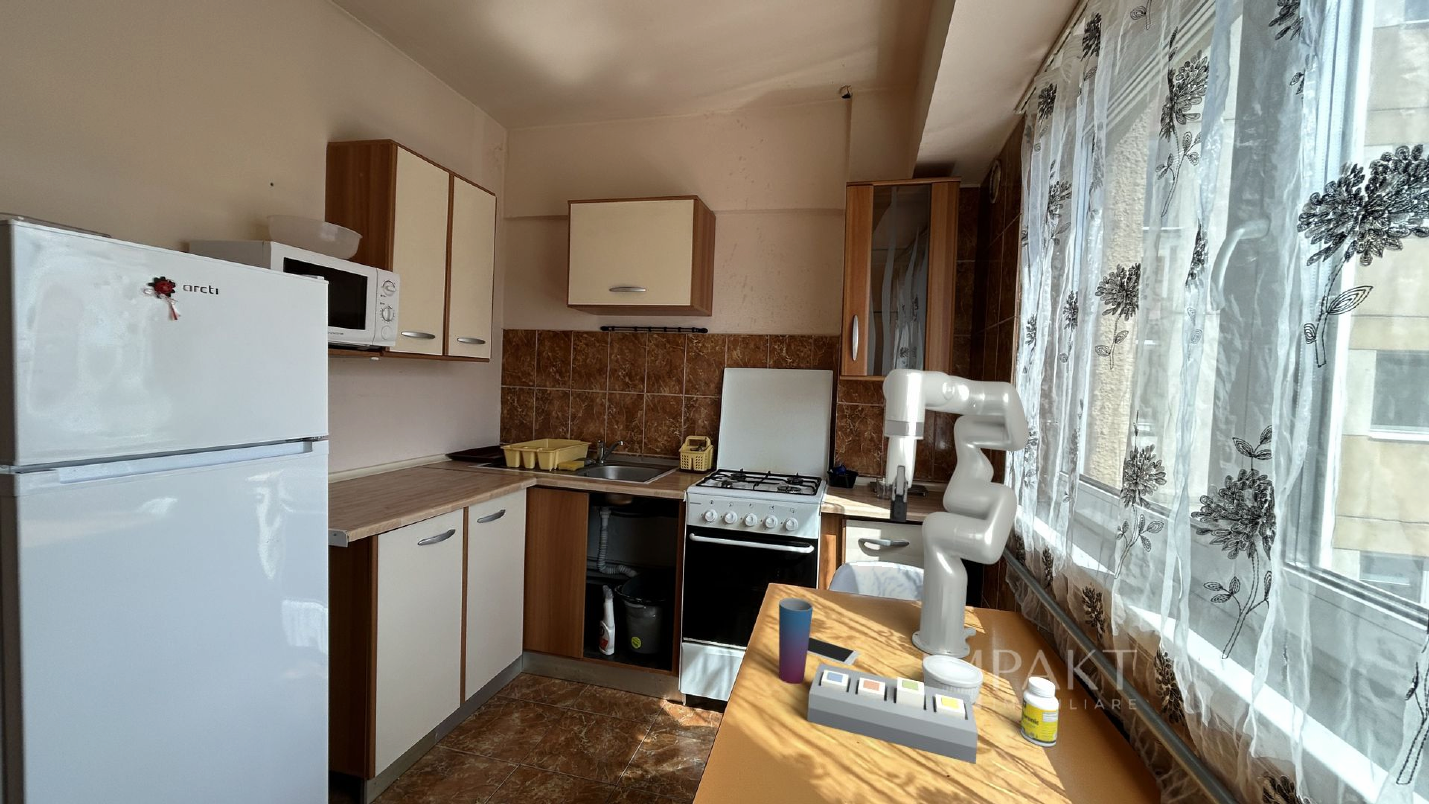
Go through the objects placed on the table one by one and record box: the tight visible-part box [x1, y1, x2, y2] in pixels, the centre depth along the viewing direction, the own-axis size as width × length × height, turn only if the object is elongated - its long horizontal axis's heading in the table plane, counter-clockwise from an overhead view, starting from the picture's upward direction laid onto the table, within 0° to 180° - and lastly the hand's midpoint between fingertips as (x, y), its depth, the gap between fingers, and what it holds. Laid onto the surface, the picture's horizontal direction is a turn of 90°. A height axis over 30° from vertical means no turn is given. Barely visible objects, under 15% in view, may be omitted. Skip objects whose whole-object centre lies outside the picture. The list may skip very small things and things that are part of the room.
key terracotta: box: [858, 678, 885, 701], centre depth 99 cm, size 4×4×3 cm
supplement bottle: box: [1020, 676, 1060, 748], centre depth 96 cm, size 5×5×10 cm
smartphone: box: [807, 636, 861, 667], centre depth 125 cm, size 8×1×15 cm
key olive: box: [896, 676, 925, 710], centre depth 97 cm, size 4×4×3 cm
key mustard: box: [935, 694, 965, 719], centre depth 95 cm, size 4×4×3 cm
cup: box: [778, 597, 814, 685], centre depth 112 cm, size 7×7×15 cm
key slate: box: [821, 670, 849, 692], centre depth 102 cm, size 4×4×3 cm
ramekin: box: [921, 655, 984, 705], centre depth 109 cm, size 11×11×5 cm
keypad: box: [807, 662, 979, 765], centre depth 98 cm, size 27×12×5 cm, turn 71°
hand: (897, 520), depth 112 cm, fingers closed
